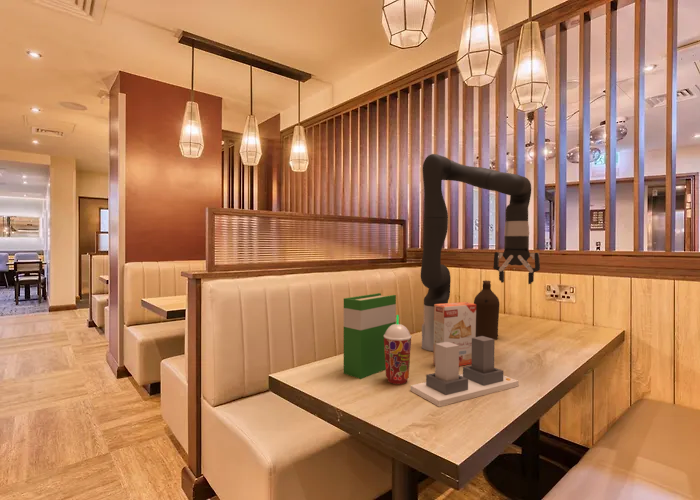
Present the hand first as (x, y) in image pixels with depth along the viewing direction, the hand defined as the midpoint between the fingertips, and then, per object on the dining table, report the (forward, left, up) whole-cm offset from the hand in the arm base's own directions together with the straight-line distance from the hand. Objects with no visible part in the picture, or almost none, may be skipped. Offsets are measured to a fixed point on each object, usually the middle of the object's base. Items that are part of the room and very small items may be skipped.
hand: (516, 283), depth 129 cm
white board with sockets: (-9, -29, -28) cm, 41 cm away
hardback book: (-40, -29, -28) cm, 57 cm away
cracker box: (-18, -9, -28) cm, 35 cm away
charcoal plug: (-5, -23, -27) cm, 36 cm away
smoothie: (-28, -34, -28) cm, 52 cm away
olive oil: (-17, +35, -28) cm, 48 cm away
